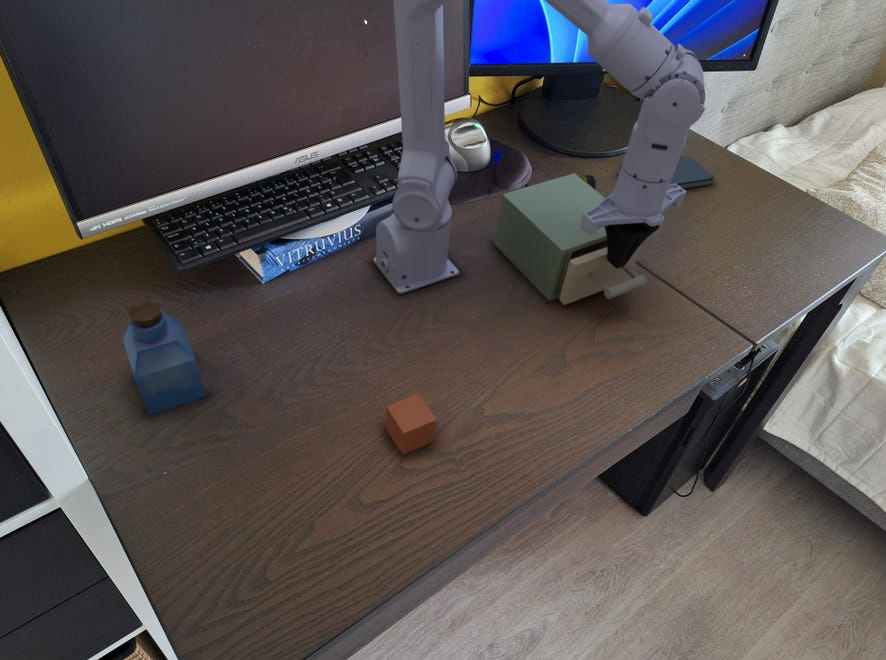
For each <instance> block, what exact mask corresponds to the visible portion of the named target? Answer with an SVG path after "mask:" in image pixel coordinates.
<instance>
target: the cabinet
mask: <svg viewBox="0 0 886 660" xmlns="http://www.w3.org/2000/svg"><path fill="white" fill-rule="evenodd" d="M572 173H573V174H570V175H567V176H563V177H560V178H558V177H557V178H553V179H549V180H546V181H543V182H539V183H536V184H533V185H529V186H526V187H522V188H519V189H515V190H512V191H508V192H504V193H502V195H501V201H500V207H499V212H498V219H497V225H496V226H497V227H496V232H495V237H494V246H496V247H497V249H498V250H499V251H500V252H501V253H502V254H503V255H504V256H505V257H506V258H507V259H508V260H509V261H510V262H511V263H512V264H513V266H515V267H516V269H518V270H519V271H520V272H521V274H522V275H523V276H524V277H525V278H526V279H527V280H528V281H529V282H530V283H531V284H532V285H533V286H534V287H535V288H536V289H537V290H538V291H539V292H540V293H541V294H542V295H543V296H544V298H546V299H547V301H548V302H551V301H553V300H556V299H559V298H560V294H561V290H562V289H560V290H557V286H558V282H559V278H560V275H561V271H562V267H563V263H564V260H565V256H566V254H568V253H570V252H573V251H576V250H579V249H582V248H585V247H588V246H591V245H593V244H596V243H599V242H602V241H605V240H607V236H606V230H605V227H602V228H599V229H597V233H596V234H594V235H591V236H590V235H589V234H587V233H586V232H585V231H584V230H583V229H582V228H581V227H580V223H581V219H582V216H583V213H585V212H588V211H590V210H591V209H593V208H594V207H596V206H597V205H598V204H599V203H600V202H602V201H603V200H604V199H605V198H606V197H604V196H603V194H601V193H600V192H598V191H597V189H596V190H595V189H593V188H592V187H591V186H590V185H588V184H587V183H586V182H585V181H584V180H582V179H581V178H580V177H579V176H578V175H576V174H575V173H576V172H572Z"/></svg>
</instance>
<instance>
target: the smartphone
mask: <svg viewBox="0 0 886 660" xmlns="http://www.w3.org/2000/svg"><path fill="white" fill-rule="evenodd" d="M621 166H622V165H620V166H619V167H618V170H617V174H618V175H619V173H620V170H621ZM713 181H714V176H712V174H711V173H710V172H709V171H708V170H706V169H705V168H704V167H703V166H702V165H701V164H700V163H698V161H696V160H695V159H694V158H692V157H690V156H687V155H685V156H680V158H679V161H678V164H677V166H676V169H675V172H674V174H673V177H672V179H671V182H670V185H671V184H675V183H676V184H677V185H678V186H680V187H681V188H683V189H684V190H685V189H688V188H689V189H690V188H695V187H702V186H707V185H711V184H712V182H713Z"/></svg>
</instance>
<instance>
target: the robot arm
mask: <svg viewBox="0 0 886 660" xmlns="http://www.w3.org/2000/svg"><path fill="white" fill-rule="evenodd" d="M447 1H448V0H393V15H394V16H393V17H394V31H395V32H394V33H395V46H396V61H397V77H398V89H399V90H398V91H399V107H400V122H401V138H402V154H401V158H400V164H399V168H398V173H397V184H398V185H397V191H396V192H395V194H394V196H393V198H392V203H391V205H392V211H393V213H392V214H391V215H389V216H388V217H386V218H384V219H382V220H381V221H378V222H377V224H376V226H375V256H374V257H373V260H372V261H373V263H374V264H375V265H376V267H377V268H378V269H379V270H380V272H381V274H382V275H383V276H384V277H385V278H386V280H387V281H388V282H389V284H390V285H391V286H392V287H393V289H394V290H395V291H396V293H397V294H400V295H402V294H405V293H408V292H412V291H414V290H419V289H420V288H423V287H426V286H429V285H432V284H435V283H438V282H441V281H444V280H447V279H450V278H454V277H456V276H459V274H460V272H459V269H458V268H457V267H456V266H455V265H454V264H453V262H451V260H450V259H449V258H448V255H449V245H450V237H451V235H450V234H451V227H452V217H453V216H452V215H453V210H452V205H450V204H451V203H450V201H449V196H450V194H451V192H452V189H453V187H454V186H455V184H456V181H457V178H458V171H457V167H456V164H455V163H454V161H453V159H452V156H451V153H450V143H449V141H447V139H446V120H445V119H446V118H445V117H446V116H445V114H446V113H445V112H446V111H445V53H444V52H445V51H444V50H445V48H444V42H445V41H444V4H445V3H446V2H447ZM543 1H545V2H546V3H547V4H548V5H549V6H551V8H553V9H554V10H555V11H557V13H559V14H560V15H561V16H562V17H564V18H565V19H566V20H567V21H568V22H570V23H571V24H572V25H574V26H575V27H576V28H577V29H579V30H580V31H581V32H582V33H583V34H585V35H586V37H587V54H588V56H589V57H591V59H592V60H593V61H594V62H596V63H597V64H598V65H599V66H600V67H601V68H602V69H603V70H604V71H605V72H606V73H608V74H609V75H610V76H611V77H612V78H613V79H614V80H615V81H616V82H618V83H619V84H620V85H621V86H622V87H623V88H624V89H625V90H627V91H628V92H629V93H630V94H631V95H632V96H633V97H636V98H638V99H640V100H642V101H643V102H642V104H641V107H640V111H639V114H638V116H637V117H638V118H637V121H636V122H635V123H634V126H633V127H632V131H631V134H630V138H629V141H628V144H627V147H626V150H625V154H624V157H623V160H622V164H621V165H620V166H621V170H620V173H619V174H618V176H617V179H616V183H615V185H614V189H613V192H612V193H610V194H609V195H608V196H607V197H604V198H605V199H604V200H603V201H602V202H600V203H599V204H598V205H597V206H596V207H594V208H593V209H591V210H590V211H588V212H585V213H583V216H582V219H581V223H580V227H581V228H582V229H583V230H584V231H585V232H586V233H587V234H589V235H590V236H591V235H594V234H596V233H597V229H599V228H602V227H605V230H606V236H607V261H609V262H610V263H611V264H612V265H613V266H614V267H615V268H617V269H618V268H620V267H623V266H625V265H626V264H627V262H628V261H629V260H630V258H631V257H632V255H633V254H634V253H635V251H636V250H637V249H638V247H639V246H640V245H641V244H642V243H643V244H644V242H645V241H646V240H647V239H648V238H649V237H650V236H652V235H653V234H654V233H655V232H656V231H658V230H659V228H660V225H662V224H663V223H664V221H665V216H664V215H663V214H664V213H665V212H666V211H667V210H668V209H669V208H670V207H671V206H674V207H679V206H681V205H683V203H684V200H685V197H686V194H687V190H686V189H685V188H684V189H683V188H681V187H680V186H678V185H677V184H676V183H675V184H671V185H670V182H671V179H672V177H673V174H674V172H675V169H676V166H677V164H678V161H679V158H680V157H682V156H681V155H682V153H683V151H684V147H685V145H686V142H687V139H688V132H689V130H690V129H691V126H693V125H694V124H696V122H698V121H699V120H700V118H701V117H702V116H703V114H704V113H705V111H706V107H705V102H706V89H705V88H706V87H705V78H704V70H703V68H702V65H701V63H700V61H699V60H698V58H697V57H696V54H695V52H694V51H692V50H689V49H686V48H685V47H684V46H683V45H681V43H678V44H677V45H676V46H675V45H674V44H673V43H672V42H671V41H670V40H669V39H668V38H667V37H666V36H665V35H664V34H662V33H661V31H660V30H658V28H656V27H655V26H654V25H653V24H652V22H653V14H652V12H650V11H649V9H647V8H646V7H645V6H642V7H641V9H640V10H638V9H637V8H635V7H634V6H633V5H632V4H631V3H619V4H618V3H617V4H610V2H608V1H607V0H543ZM643 244H642V245H643Z"/></svg>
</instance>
